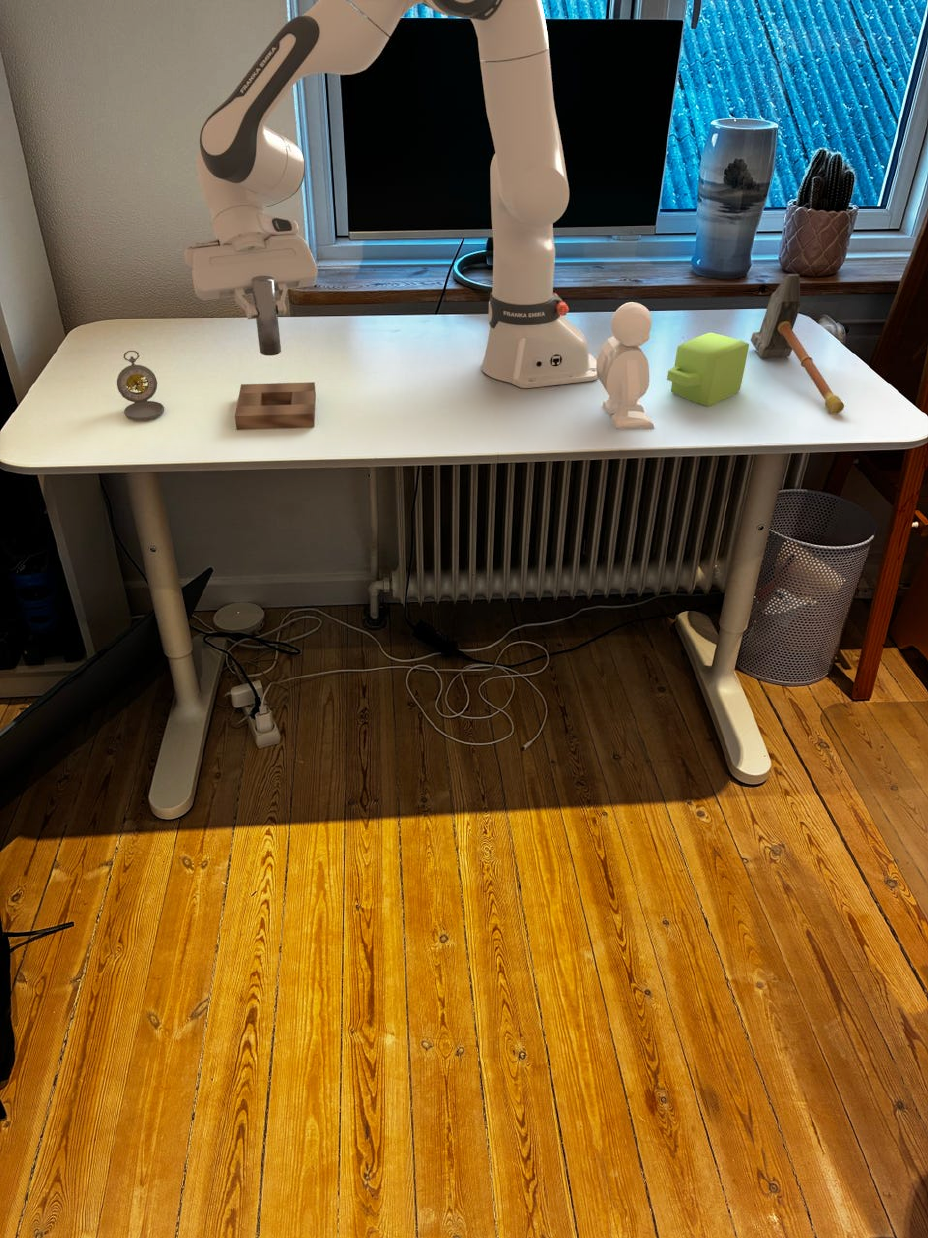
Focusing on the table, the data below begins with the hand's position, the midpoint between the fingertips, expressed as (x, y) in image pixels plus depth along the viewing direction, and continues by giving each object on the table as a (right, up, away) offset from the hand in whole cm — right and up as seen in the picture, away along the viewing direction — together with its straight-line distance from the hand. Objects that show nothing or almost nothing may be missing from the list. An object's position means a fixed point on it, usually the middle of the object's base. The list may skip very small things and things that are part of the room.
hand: (267, 315), depth 156 cm
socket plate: (-1, -13, +11) cm, 17 cm away
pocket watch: (-24, -14, +10) cm, 29 cm away
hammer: (+96, -4, +26) cm, 99 cm away
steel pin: (0, -5, +4) cm, 6 cm away
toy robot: (+60, -14, +12) cm, 63 cm away
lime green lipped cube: (+77, -7, +21) cm, 80 cm away
